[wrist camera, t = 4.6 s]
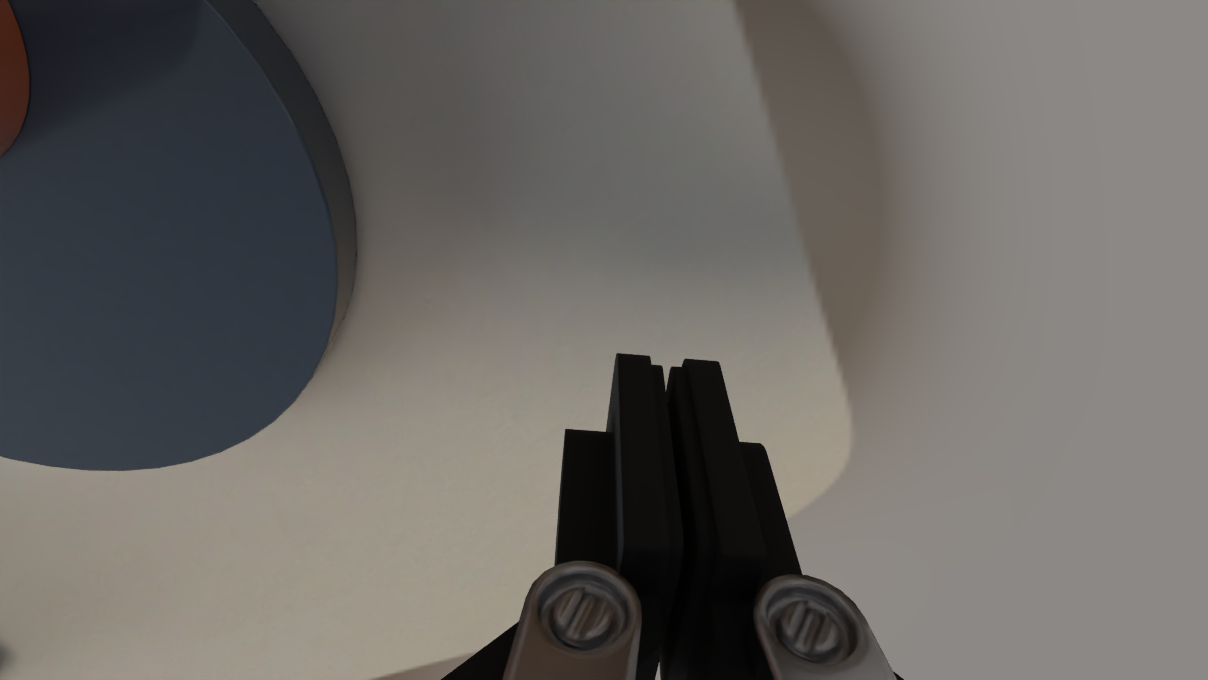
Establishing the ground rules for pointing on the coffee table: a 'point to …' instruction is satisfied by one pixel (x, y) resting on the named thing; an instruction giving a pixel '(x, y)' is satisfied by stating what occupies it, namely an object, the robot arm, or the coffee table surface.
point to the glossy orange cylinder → (12, 77)
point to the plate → (163, 234)
